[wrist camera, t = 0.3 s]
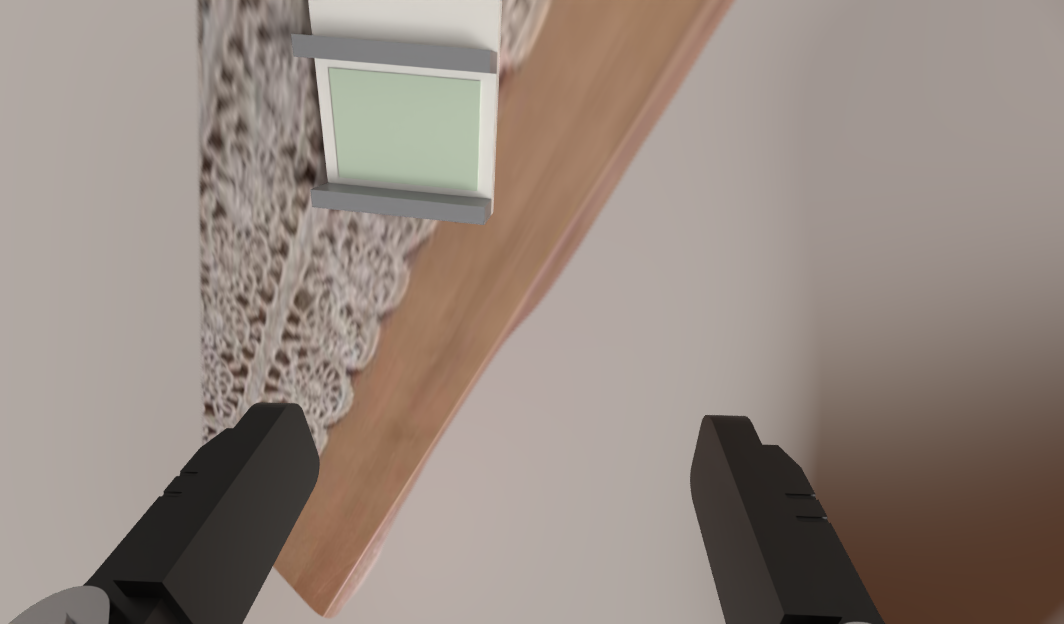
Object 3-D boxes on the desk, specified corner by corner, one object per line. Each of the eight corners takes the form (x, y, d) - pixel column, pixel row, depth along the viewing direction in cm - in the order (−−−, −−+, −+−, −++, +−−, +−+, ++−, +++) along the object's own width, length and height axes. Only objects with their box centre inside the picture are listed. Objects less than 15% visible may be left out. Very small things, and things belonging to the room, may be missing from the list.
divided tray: (301, -146, 28) (264, -175, 24) (507, -133, 27) (497, -161, 24) (336, 196, 36) (312, 207, 33) (493, 212, 36) (484, 224, 32)
